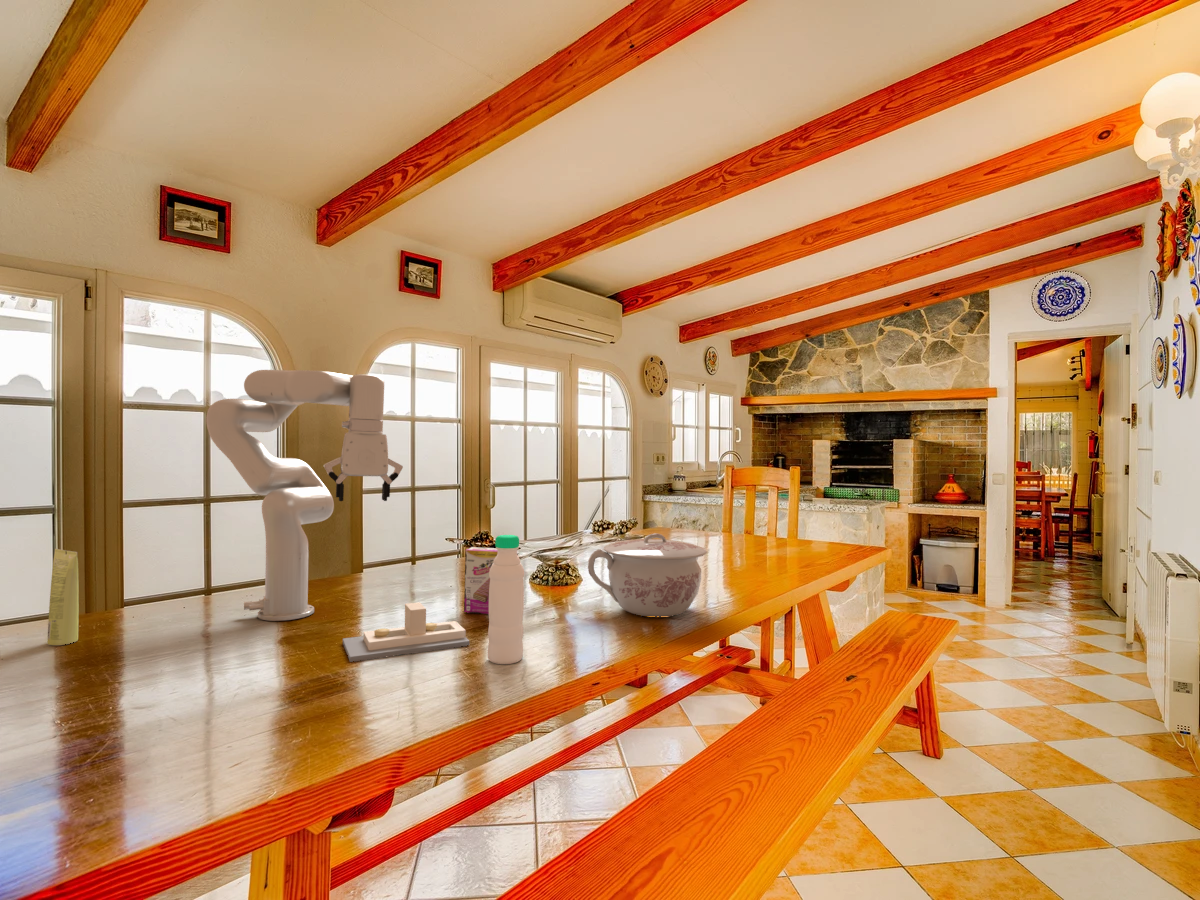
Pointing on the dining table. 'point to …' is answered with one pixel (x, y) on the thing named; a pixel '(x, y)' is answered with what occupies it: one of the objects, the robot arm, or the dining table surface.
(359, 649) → the board
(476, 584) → the candy bar box
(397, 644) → the pink tray with post
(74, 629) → the tube
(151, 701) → the dining table surface
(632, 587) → the chamber pot
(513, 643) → the water bottle
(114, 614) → the dining table surface
